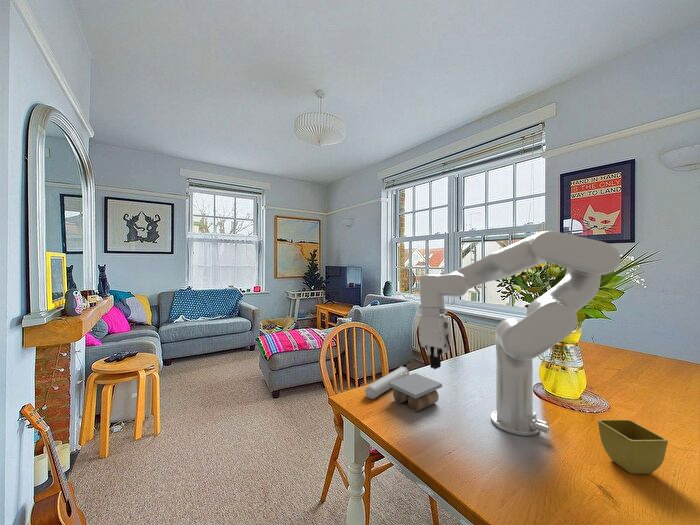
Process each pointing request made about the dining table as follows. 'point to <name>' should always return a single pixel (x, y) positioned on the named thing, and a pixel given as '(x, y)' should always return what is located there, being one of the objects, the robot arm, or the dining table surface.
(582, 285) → the robot arm
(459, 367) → the dining table surface
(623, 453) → the flower pot
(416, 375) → the slab
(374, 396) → the tube
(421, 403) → the rollers
